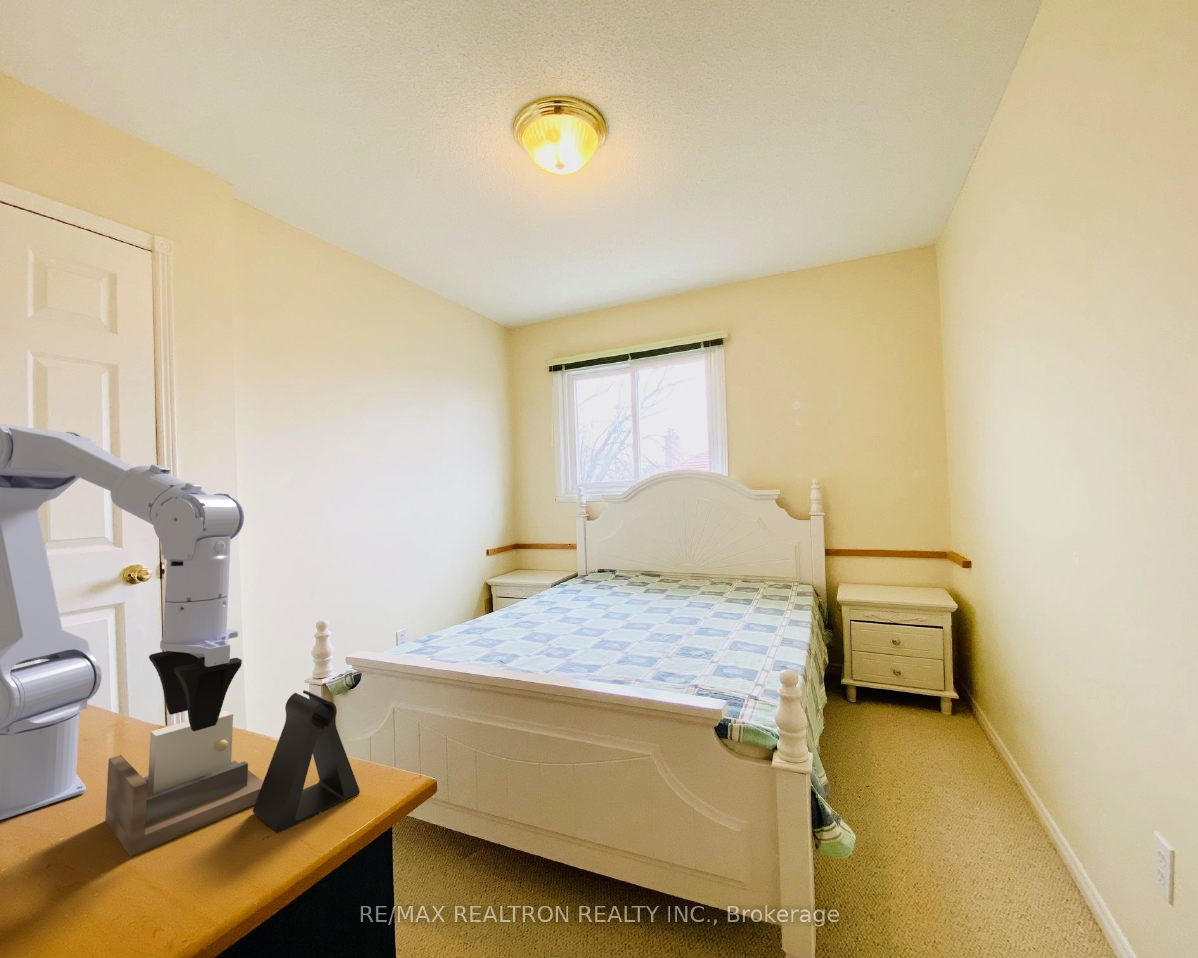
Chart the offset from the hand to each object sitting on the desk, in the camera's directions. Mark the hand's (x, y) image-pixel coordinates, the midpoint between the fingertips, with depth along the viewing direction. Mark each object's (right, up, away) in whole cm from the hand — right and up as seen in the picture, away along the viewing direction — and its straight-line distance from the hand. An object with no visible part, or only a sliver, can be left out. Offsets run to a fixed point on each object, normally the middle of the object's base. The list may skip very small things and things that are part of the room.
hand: (191, 719), depth 57 cm
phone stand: (+13, -10, 0) cm, 16 cm away
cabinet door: (0, -8, 0) cm, 8 cm away
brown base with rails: (0, -10, 0) cm, 10 cm away
